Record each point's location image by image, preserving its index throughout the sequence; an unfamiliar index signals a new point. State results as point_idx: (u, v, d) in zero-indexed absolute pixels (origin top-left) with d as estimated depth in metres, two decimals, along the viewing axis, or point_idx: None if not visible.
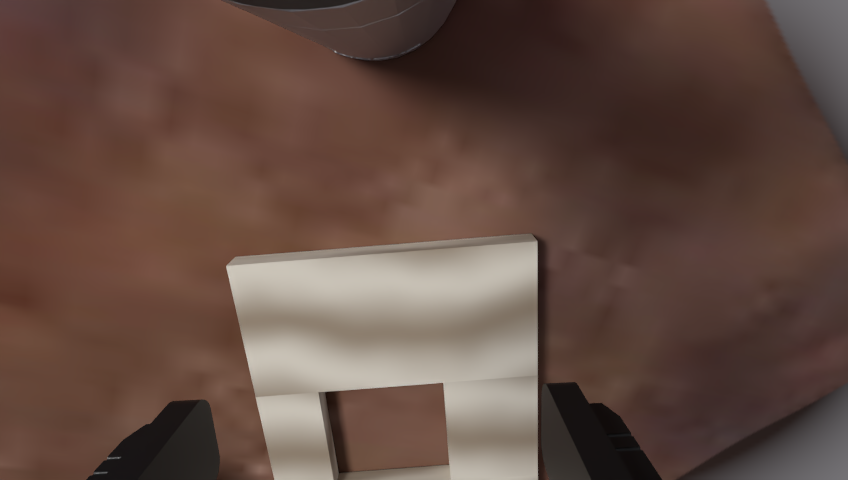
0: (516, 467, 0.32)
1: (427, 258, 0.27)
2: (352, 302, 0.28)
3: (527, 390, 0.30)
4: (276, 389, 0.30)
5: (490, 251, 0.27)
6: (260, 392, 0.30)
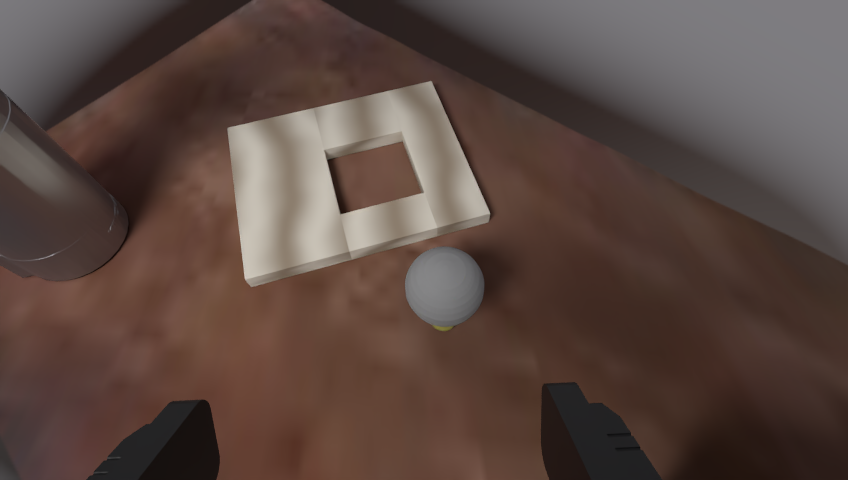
0: (383, 102, 0.49)
1: (238, 173, 0.45)
2: (269, 205, 0.43)
3: (324, 110, 0.49)
4: (340, 239, 0.41)
5: (233, 146, 0.47)
6: (344, 248, 0.40)
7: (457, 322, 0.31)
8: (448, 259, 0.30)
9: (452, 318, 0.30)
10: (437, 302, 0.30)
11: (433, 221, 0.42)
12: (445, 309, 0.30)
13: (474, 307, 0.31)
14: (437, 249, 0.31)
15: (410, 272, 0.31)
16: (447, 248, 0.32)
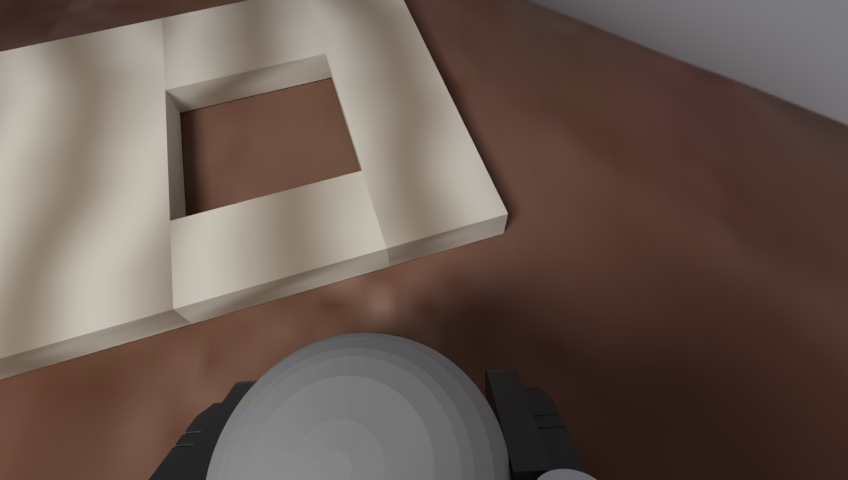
0: (295, 5, 0.26)
1: None
2: (19, 203, 0.19)
3: (182, 20, 0.25)
4: (158, 280, 0.17)
5: None
6: (163, 302, 0.17)
7: None
8: (357, 414, 0.07)
9: None
10: None
11: (378, 233, 0.18)
12: None
13: None
14: (325, 354, 0.08)
15: (215, 448, 0.08)
16: (367, 348, 0.08)
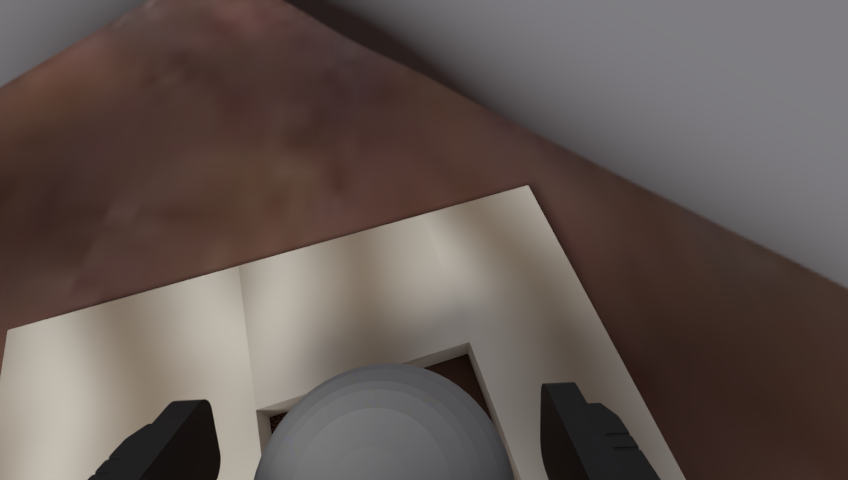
0: (414, 247, 0.20)
1: None
2: None
3: (265, 272, 0.19)
4: None
5: (8, 395, 0.17)
6: None
7: None
8: (384, 442, 0.08)
9: None
10: None
11: None
12: None
13: None
14: (353, 387, 0.09)
15: (259, 469, 0.09)
16: (389, 380, 0.09)
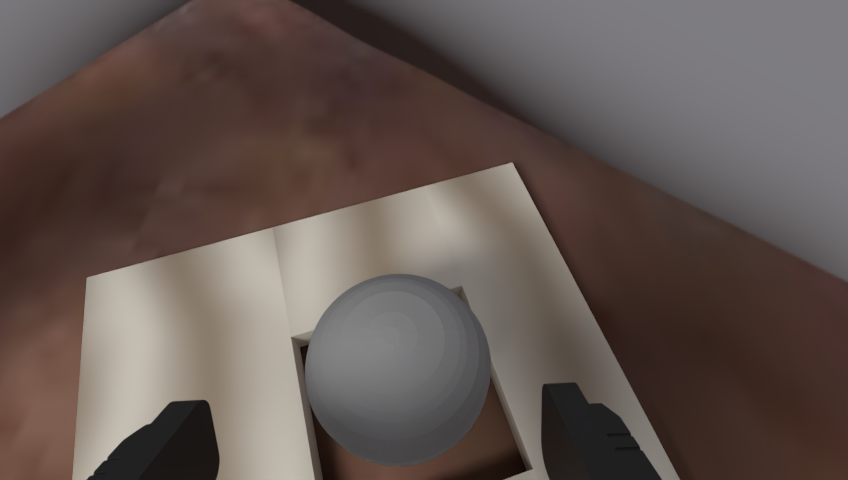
0: (417, 212, 0.24)
1: (90, 406, 0.19)
2: None
3: (295, 232, 0.23)
4: None
5: (92, 326, 0.21)
6: None
7: (426, 460, 0.13)
8: (400, 309, 0.12)
9: (413, 458, 0.12)
10: (371, 425, 0.11)
11: None
12: (392, 442, 0.12)
13: (466, 427, 0.12)
14: (378, 282, 0.13)
15: (313, 336, 0.13)
16: (403, 278, 0.13)
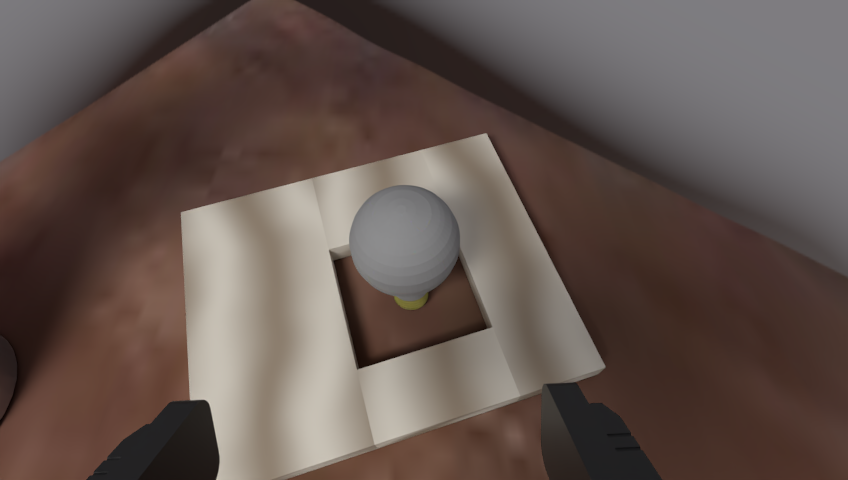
0: (416, 167, 0.33)
1: (193, 292, 0.28)
2: (241, 352, 0.26)
3: (328, 181, 0.32)
4: (359, 420, 0.24)
5: (188, 243, 0.30)
6: (366, 439, 0.24)
7: (421, 289, 0.22)
8: (406, 197, 0.21)
9: (413, 282, 0.21)
10: (390, 258, 0.21)
11: (512, 383, 0.25)
12: (401, 268, 0.21)
13: (444, 267, 0.22)
14: (393, 187, 0.22)
15: (354, 218, 0.22)
16: (407, 185, 0.22)
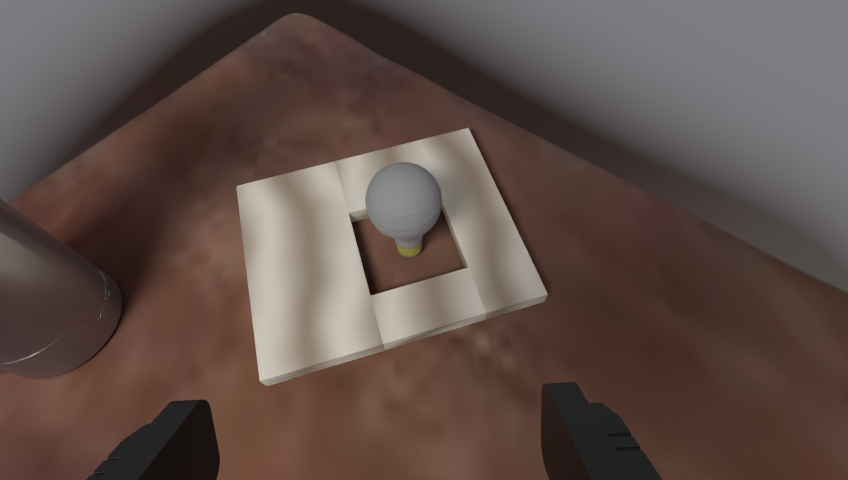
0: (414, 153, 0.43)
1: (249, 243, 0.39)
2: (286, 284, 0.37)
3: (347, 163, 0.43)
4: (372, 328, 0.35)
5: (243, 208, 0.40)
6: (377, 340, 0.34)
7: (414, 232, 0.32)
8: (404, 169, 0.31)
9: (408, 227, 0.31)
10: (393, 209, 0.31)
11: (481, 304, 0.35)
12: (401, 216, 0.31)
13: (430, 217, 0.32)
14: (395, 163, 0.32)
15: (369, 185, 0.32)
16: (405, 162, 0.33)
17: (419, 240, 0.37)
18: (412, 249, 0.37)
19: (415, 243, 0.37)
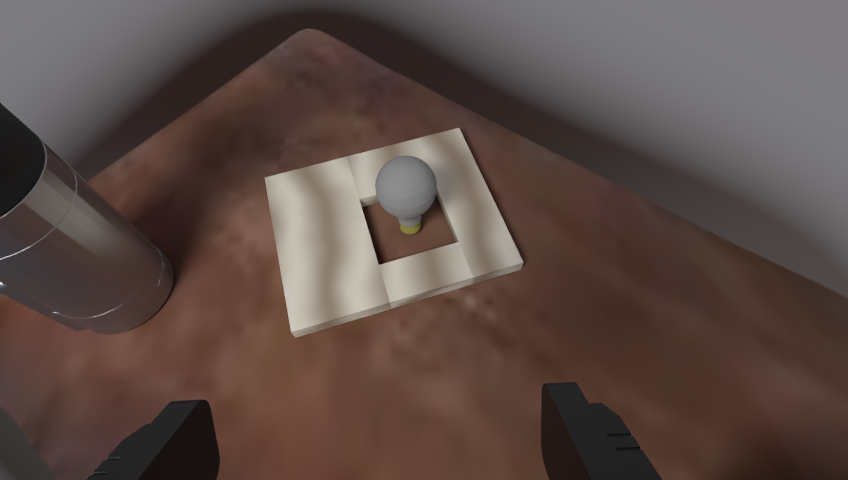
0: (413, 149, 0.51)
1: (278, 224, 0.47)
2: (310, 256, 0.45)
3: (357, 158, 0.51)
4: (380, 290, 0.43)
5: (271, 196, 0.48)
6: (385, 299, 0.42)
7: (415, 212, 0.40)
8: (406, 161, 0.39)
9: (410, 207, 0.39)
10: (398, 193, 0.39)
11: (469, 271, 0.43)
12: (404, 198, 0.39)
13: (427, 199, 0.40)
14: (399, 156, 0.41)
15: (378, 173, 0.40)
16: None
17: (418, 220, 0.45)
18: (412, 227, 0.46)
19: (415, 222, 0.45)
